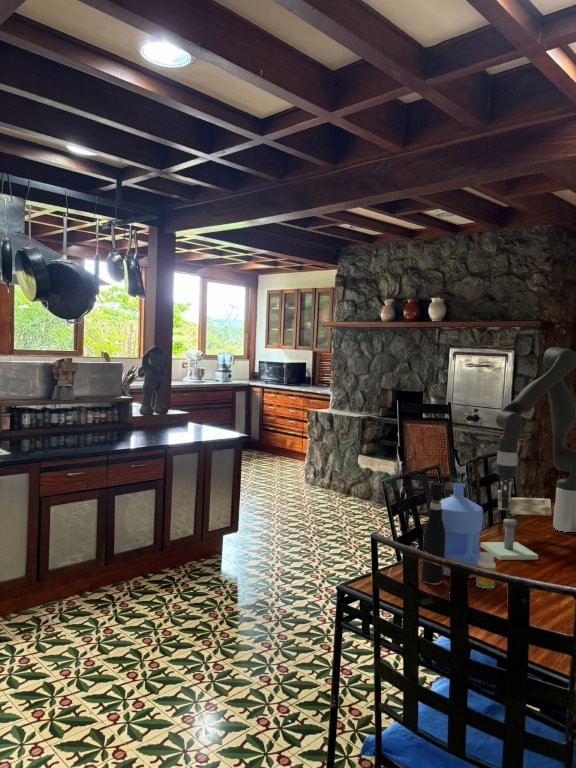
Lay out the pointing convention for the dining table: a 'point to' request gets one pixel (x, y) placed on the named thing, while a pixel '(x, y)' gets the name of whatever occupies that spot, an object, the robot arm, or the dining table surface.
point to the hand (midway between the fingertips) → (504, 507)
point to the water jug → (461, 528)
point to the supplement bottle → (487, 564)
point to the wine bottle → (434, 536)
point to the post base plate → (509, 546)
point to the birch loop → (526, 505)
